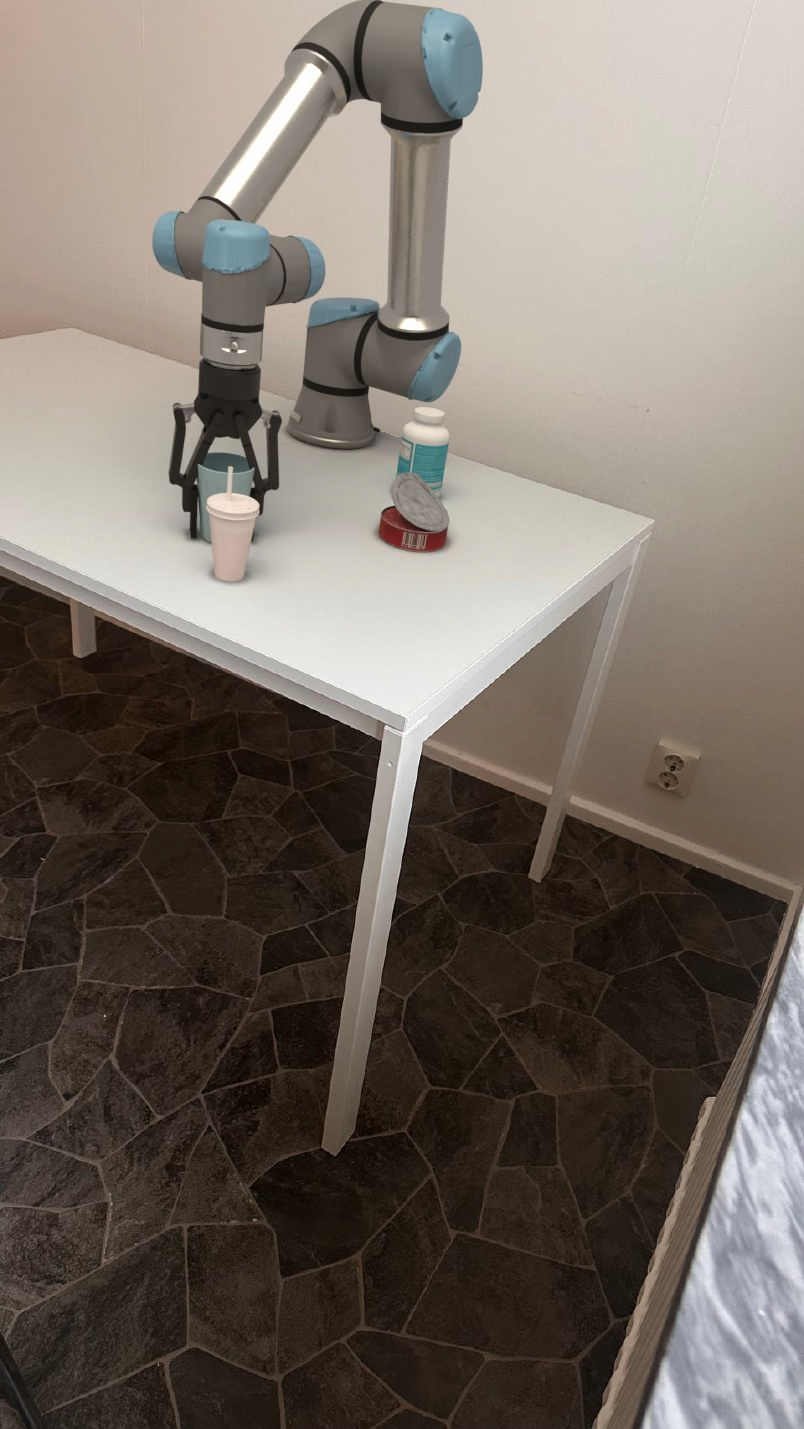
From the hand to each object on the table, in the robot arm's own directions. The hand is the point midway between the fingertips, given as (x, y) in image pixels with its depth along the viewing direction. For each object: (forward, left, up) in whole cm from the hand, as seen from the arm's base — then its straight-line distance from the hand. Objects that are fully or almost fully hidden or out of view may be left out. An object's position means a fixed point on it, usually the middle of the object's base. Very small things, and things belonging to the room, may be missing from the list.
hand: (221, 535), depth 134 cm
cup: (0, 0, 0) cm, 0 cm away
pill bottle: (-38, 0, -1) cm, 38 cm away
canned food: (-25, +12, -1) cm, 28 cm away
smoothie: (+6, +10, 0) cm, 12 cm away
